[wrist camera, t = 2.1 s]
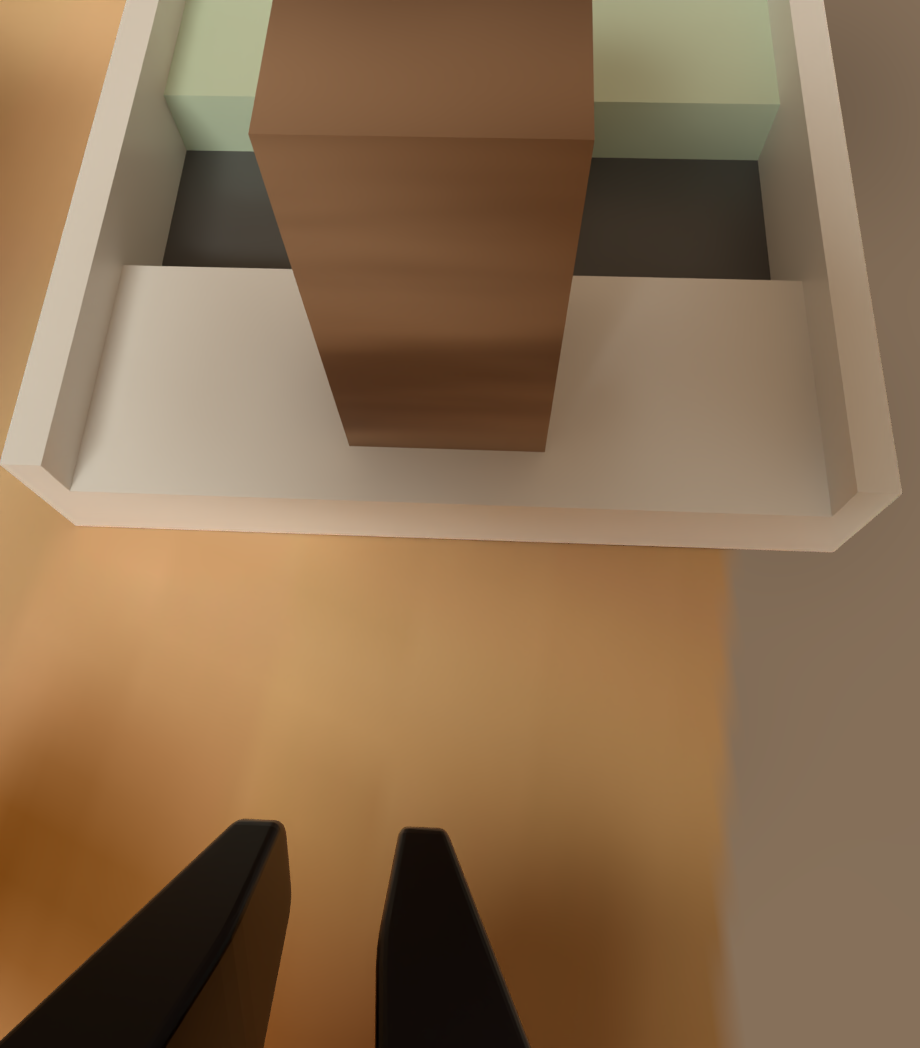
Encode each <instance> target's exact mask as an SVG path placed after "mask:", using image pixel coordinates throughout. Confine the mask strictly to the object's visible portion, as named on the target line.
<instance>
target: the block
mask: <svg viewBox="0 0 920 1048" xmlns="http://www.w3.org/2000/svg"><path fill="white" fill-rule="evenodd" d="M248 135H249V138H250V141H251V144H252V147H253V150H254V153H255V156H256V159H257V163H258V166H259V169H260V172H261V175H262V178H263V181H264V184H265V187H266V190H267V193H268V197H269V200H270V203H271V206H272V209H273V212H274V215H275V218H276V221H277V224H278V227H279V230H280V234H281V237H282V240H283V243H284V246H285V249H286V252H287V255H288V258H289V261H290V264H291V267H292V271H293V274H294V277H295V280H296V283H297V286H298V289H299V292H300V295H301V298H302V301H303V305H304V308H305V311H306V314H307V317H308V320H309V323H310V326H311V329H312V332H313V335H314V338H315V342H316V345H317V348H318V351H319V354H320V357H321V360H322V363H323V366H324V369H325V372H326V376H327V379H328V382H329V385H330V388H331V391H332V394H333V397H334V400H335V403H336V406H337V409H338V413H339V416H340V419H341V422H342V425H343V428H344V431H345V434H346V437H347V440H348V443H349V446H364V447H396V448H428V449H460V450H492V451H524V452H545V447H546V441H547V435H548V428H549V422H550V416H551V410H552V403H553V397H554V391H555V384H556V378H557V372H558V366H559V359H560V353H561V347H562V341H563V334H564V328H565V322H566V316H567V309H568V303H569V297H570V291H571V284H572V278H573V272H574V266H575V259H576V253H577V247H578V241H579V234H580V228H581V222H582V215H583V209H584V203H585V197H586V190H587V184H588V178H589V172H590V165H591V159H592V153H593V147H594V140H595V133H594V73H593V12H592V0H273V1H272V7H271V12H270V18H269V23H268V28H267V34H266V39H265V45H264V50H263V56H262V61H261V67H260V72H259V78H258V83H257V89H256V94H255V100H254V105H253V111H252V116H251V121H250V127H249V132H248Z"/></svg>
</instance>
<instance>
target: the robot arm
mask: <svg viewBox="0 0 920 1048" xmlns="http://www.w3.org/2000/svg"><path fill="white" fill-rule="evenodd" d="M290 904H291V882H290V870H289V859H288V848H287V836H286V831H285V828H284V826H283V824H282V823H281V822H279V821H276V820H259V819H241V820H238V821H236V822H234V823H233V824H231V825H230V826H229V827H228V828H227V829H226V830H225V831H224V832H223V833H222V834H221V835H220V836H218V837H217V838H216V839H215V840H214V841H213V842H212V843H211V844H210V845H209V846H208V847H207V848H206V849H205V850H204V851H202V852H201V853H200V854H199V855H198V856H197V857H196V858H195V859H194V860H193V861H192V862H191V863H190V864H189V865H188V866H186V867H185V868H184V869H183V870H182V871H181V872H180V873H179V874H178V875H177V876H176V877H175V878H174V879H173V880H171V881H170V882H169V883H168V884H167V885H166V886H165V887H164V888H163V889H162V890H161V891H160V892H159V893H158V894H157V895H155V896H154V897H153V898H152V899H151V900H150V901H149V902H148V903H147V904H146V905H145V906H144V907H143V908H142V909H141V910H139V911H138V912H137V913H136V914H135V915H134V916H133V917H132V918H131V919H130V920H129V921H128V922H127V923H126V924H125V925H123V926H122V927H121V928H120V929H119V930H118V931H117V932H116V933H115V934H114V935H113V936H112V937H111V938H110V939H109V940H107V941H106V942H105V943H104V944H103V945H102V946H101V947H100V948H99V949H98V950H97V951H96V952H95V953H94V954H92V955H91V956H90V957H89V958H88V959H87V960H86V961H85V962H84V963H83V964H82V965H81V966H80V967H79V968H78V969H76V970H75V971H74V972H73V973H72V974H71V975H70V976H69V977H68V978H67V979H66V980H65V981H64V982H63V983H62V984H60V985H59V986H58V987H57V988H56V989H55V990H54V991H53V992H52V993H51V994H50V995H49V996H48V997H47V998H46V999H44V1000H43V1001H42V1002H41V1003H40V1004H39V1005H38V1006H37V1007H36V1008H35V1009H34V1010H33V1011H32V1012H31V1013H29V1014H28V1015H27V1016H26V1017H25V1018H24V1019H23V1020H22V1021H21V1022H20V1023H19V1024H18V1025H17V1026H16V1027H15V1028H13V1029H12V1030H11V1031H10V1032H9V1033H8V1034H7V1035H6V1036H5V1037H4V1038H3V1039H2V1040H1V1041H0V1048H263V1047H264V1042H265V1037H266V1032H267V1027H268V1022H269V1016H270V1011H271V1006H272V1001H273V996H274V991H275V986H276V980H277V975H278V970H279V965H280V960H281V955H282V950H283V945H284V939H285V934H286V929H287V924H288V919H289V913H290ZM375 1048H531V1047H530V1044H529V1042H528V1039H527V1037H526V1034H525V1031H524V1029H523V1026H522V1024H521V1021H520V1019H519V1016H518V1013H517V1011H516V1008H515V1006H514V1003H513V1000H512V998H511V995H510V993H509V990H508V988H507V985H506V982H505V980H504V977H503V975H502V972H501V969H500V967H499V964H498V962H497V959H496V957H495V954H494V951H493V949H492V946H491V944H490V941H489V938H488V936H487V933H486V931H485V928H484V926H483V923H482V920H481V918H480V915H479V913H478V910H477V907H476V905H475V902H474V900H473V897H472V895H471V892H470V889H469V887H468V884H467V882H466V879H465V876H464V874H463V871H462V869H461V866H460V863H459V861H458V858H457V856H456V853H455V851H454V848H453V845H452V843H451V840H450V838H449V835H448V834H447V832H446V831H445V830H443V829H441V828H428V827H404V828H403V829H402V830H401V831H400V833H399V835H398V840H397V845H396V850H395V855H394V860H393V865H392V870H391V875H390V880H389V885H388V890H387V895H386V900H385V905H384V910H383V915H382V920H381V926H380V932H379V938H378V945H377V959H376V1000H375Z"/></svg>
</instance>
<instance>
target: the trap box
mask: <svg viewBox="0 0 920 1048" xmlns="http://www.w3.org/2000/svg"><path fill="white" fill-rule="evenodd" d="M272 1H273V0H126V4H125V7H124V11H123V15H122V18H121V22H120V26H119V29H118V33H117V37H116V40H115V44H114V48H113V51H112V55H111V59H110V62H109V66H108V69H107V73H106V77H105V80H104V84H103V88H102V91H101V95H100V99H99V102H98V106H97V110H96V113H95V117H94V121H93V124H92V128H91V132H90V135H89V139H88V142H87V146H86V150H85V153H84V157H83V161H82V164H81V168H80V172H79V175H78V179H77V183H76V186H75V190H74V194H73V197H72V201H71V205H70V208H69V212H68V215H67V219H66V223H65V226H64V230H63V234H62V237H61V241H60V245H59V248H58V252H57V256H56V259H55V263H54V267H53V270H52V274H51V278H50V281H49V285H48V288H47V292H46V296H45V299H44V303H43V307H42V310H41V314H40V318H39V321H38V325H37V329H36V332H35V336H34V340H33V343H32V347H31V351H30V354H29V358H28V361H27V365H26V369H25V372H24V376H23V380H22V383H21V387H20V391H19V394H18V398H17V402H16V405H15V409H14V413H13V416H12V420H11V424H10V427H9V431H8V434H7V438H6V442H5V445H4V449H3V453H2V456H1V460H0V465H1V466H2V467H3V468H5V469H6V470H7V471H8V472H10V473H11V474H12V475H13V476H15V477H16V478H17V479H18V480H20V481H21V482H22V483H23V484H25V485H26V486H27V487H28V488H29V489H31V490H32V491H33V492H34V493H36V494H37V495H38V496H39V497H41V498H42V499H43V500H44V501H46V502H47V503H48V504H49V505H51V506H52V507H53V508H54V509H56V510H57V511H58V512H59V513H61V514H62V515H63V516H64V517H66V518H67V519H68V520H69V521H70V522H72V523H73V524H74V525H75V526H99V527H127V528H155V529H184V530H212V531H240V532H269V533H297V534H325V535H353V536H382V537H410V538H438V539H466V540H495V541H523V542H551V543H580V544H608V545H636V546H664V547H693V548H721V549H749V550H778V551H807V552H834V551H836V550H837V549H838V548H839V547H840V546H841V545H843V544H844V543H845V542H846V541H847V540H848V539H850V538H851V537H852V536H853V535H855V534H856V533H857V532H858V531H859V530H860V529H861V528H863V527H864V526H865V525H866V524H867V523H869V522H870V521H871V520H872V519H873V518H875V517H876V516H877V515H878V514H879V513H880V512H882V511H883V510H884V509H885V508H886V507H887V506H889V505H890V504H891V503H892V502H893V501H894V500H896V499H897V498H898V497H899V496H900V495H902V487H901V481H900V475H899V468H898V462H897V456H896V450H895V444H894V437H893V431H892V425H891V419H890V412H889V407H888V400H887V394H886V388H885V381H884V375H883V369H882V362H881V356H880V350H879V344H878V337H877V331H876V325H875V319H874V313H873V307H872V300H871V294H870V288H869V281H868V276H867V269H866V263H865V257H864V251H863V244H862V238H861V232H860V225H859V220H858V213H857V207H856V201H855V195H854V188H853V182H852V175H851V169H850V163H849V157H848V151H847V145H846V138H845V132H844V126H843V120H842V113H841V107H840V101H839V94H838V88H837V82H836V76H835V70H834V64H833V57H832V51H831V45H830V38H829V32H828V26H827V20H826V13H825V8H824V2H823V0H592V12H593V73H594V133H595V140H594V147H593V153H592V159H591V165H590V172H589V178H588V184H587V190H586V197H585V203H584V209H583V215H582V222H581V228H580V234H579V241H578V247H577V253H576V259H575V266H574V272H573V278H572V284H571V291H570V297H569V303H568V309H567V316H566V322H565V328H564V334H563V341H562V347H561V353H560V359H559V366H558V372H557V378H556V384H555V391H554V397H553V403H552V410H551V416H550V422H549V428H548V435H547V441H546V447H545V452H524V451H492V450H460V449H428V448H396V447H364V446H349V443H348V440H347V437H346V434H345V431H344V428H343V425H342V422H341V419H340V416H339V413H338V409H337V406H336V403H335V400H334V397H333V394H332V391H331V388H330V385H329V382H328V379H327V376H326V372H325V369H324V366H323V363H322V360H321V357H320V354H319V351H318V348H317V345H316V342H315V338H314V335H313V332H312V329H311V326H310V323H309V320H308V317H307V314H306V311H305V308H304V305H303V301H302V298H301V295H300V292H299V289H298V286H297V283H296V280H295V277H294V274H293V271H292V267H291V264H290V261H289V258H288V255H287V252H286V249H285V246H284V243H283V240H282V237H281V234H280V230H279V227H278V224H277V221H276V218H275V215H274V212H273V209H272V206H271V203H270V200H269V197H268V193H267V190H266V187H265V184H264V181H263V178H262V175H261V172H260V169H259V166H258V163H257V159H256V156H255V153H254V150H253V147H252V144H251V141H250V138H249V135H248V132H249V127H250V121H251V116H252V111H253V105H254V100H255V94H256V89H257V83H258V78H259V72H260V67H261V61H262V56H263V50H264V45H265V39H266V34H267V28H268V23H269V18H270V12H271V7H272Z"/></svg>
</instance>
